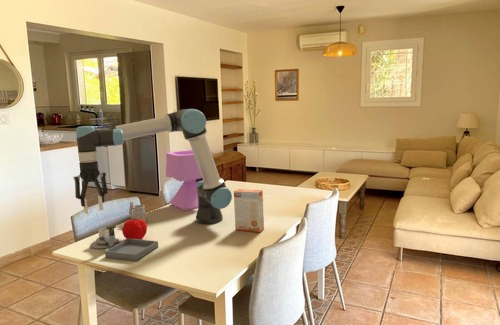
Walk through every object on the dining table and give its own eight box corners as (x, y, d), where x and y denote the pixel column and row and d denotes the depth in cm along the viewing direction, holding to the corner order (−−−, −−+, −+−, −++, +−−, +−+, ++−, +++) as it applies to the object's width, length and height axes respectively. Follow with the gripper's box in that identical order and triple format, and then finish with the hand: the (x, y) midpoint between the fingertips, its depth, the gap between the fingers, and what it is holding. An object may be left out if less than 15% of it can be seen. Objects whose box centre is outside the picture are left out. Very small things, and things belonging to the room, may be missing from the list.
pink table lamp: (215, 205, 246) (212, 152, 240) (182, 211, 233) (178, 155, 227) (199, 198, 265) (196, 149, 259) (168, 204, 252) (164, 152, 247)
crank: (97, 238, 182) (96, 221, 181) (108, 235, 185) (106, 219, 184) (108, 246, 171) (106, 228, 170) (119, 243, 174) (117, 225, 173)
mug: (139, 225, 208) (137, 204, 207) (125, 223, 215) (123, 202, 213) (149, 222, 215) (148, 201, 213) (135, 219, 221) (133, 199, 219)
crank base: (125, 240, 186) (124, 235, 186) (107, 250, 174) (106, 244, 174) (103, 238, 190) (103, 233, 190) (84, 247, 178) (84, 242, 178)
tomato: (124, 245, 180) (122, 222, 178) (122, 238, 190) (120, 216, 188) (149, 240, 184) (148, 218, 183) (146, 234, 195) (144, 213, 193)
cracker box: (264, 229, 195) (263, 189, 191) (259, 233, 189) (258, 192, 186) (240, 226, 201) (238, 188, 197) (235, 230, 195) (233, 190, 192)
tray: (158, 247, 175) (157, 241, 175) (137, 261, 160) (136, 254, 159) (128, 244, 180) (128, 238, 180) (105, 257, 165) (104, 251, 165)
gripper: (106, 157, 176) (111, 205, 180) (62, 163, 164) (68, 214, 167) (112, 159, 171) (117, 208, 174) (68, 164, 158) (74, 217, 162)
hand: (93, 211), depth 171 cm, fingers open, 6 cm apart
